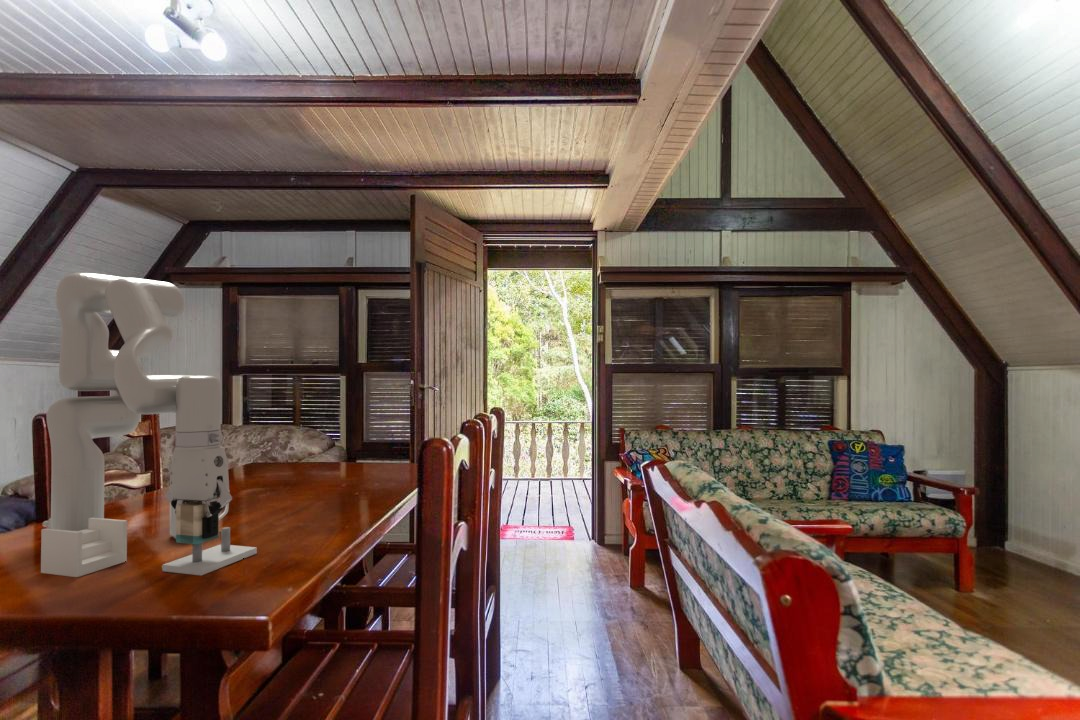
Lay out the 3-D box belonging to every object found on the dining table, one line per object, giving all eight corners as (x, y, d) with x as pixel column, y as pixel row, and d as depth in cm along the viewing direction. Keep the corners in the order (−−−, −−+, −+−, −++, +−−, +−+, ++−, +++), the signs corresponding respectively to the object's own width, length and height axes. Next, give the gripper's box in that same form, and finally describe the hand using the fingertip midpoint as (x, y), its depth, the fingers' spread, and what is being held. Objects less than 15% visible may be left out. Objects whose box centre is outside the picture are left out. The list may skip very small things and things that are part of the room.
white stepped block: (40, 572, 112) (41, 529, 112) (91, 557, 121) (92, 517, 121) (77, 577, 109) (77, 532, 110) (126, 561, 119) (127, 520, 119)
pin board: (162, 571, 113) (162, 540, 113) (220, 549, 126) (221, 522, 126) (201, 575, 110) (201, 544, 110) (256, 553, 124) (257, 525, 124)
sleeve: (197, 535, 118) (198, 499, 118) (218, 537, 117) (218, 500, 117) (176, 542, 113) (176, 504, 113) (197, 544, 112) (197, 506, 112)
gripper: (249, 439, 117) (249, 533, 116) (179, 437, 121) (179, 528, 121) (219, 443, 109) (219, 544, 109) (145, 441, 114) (145, 538, 114)
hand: (198, 534), depth 115 cm, fingers closed on sleeve, 5 cm apart
